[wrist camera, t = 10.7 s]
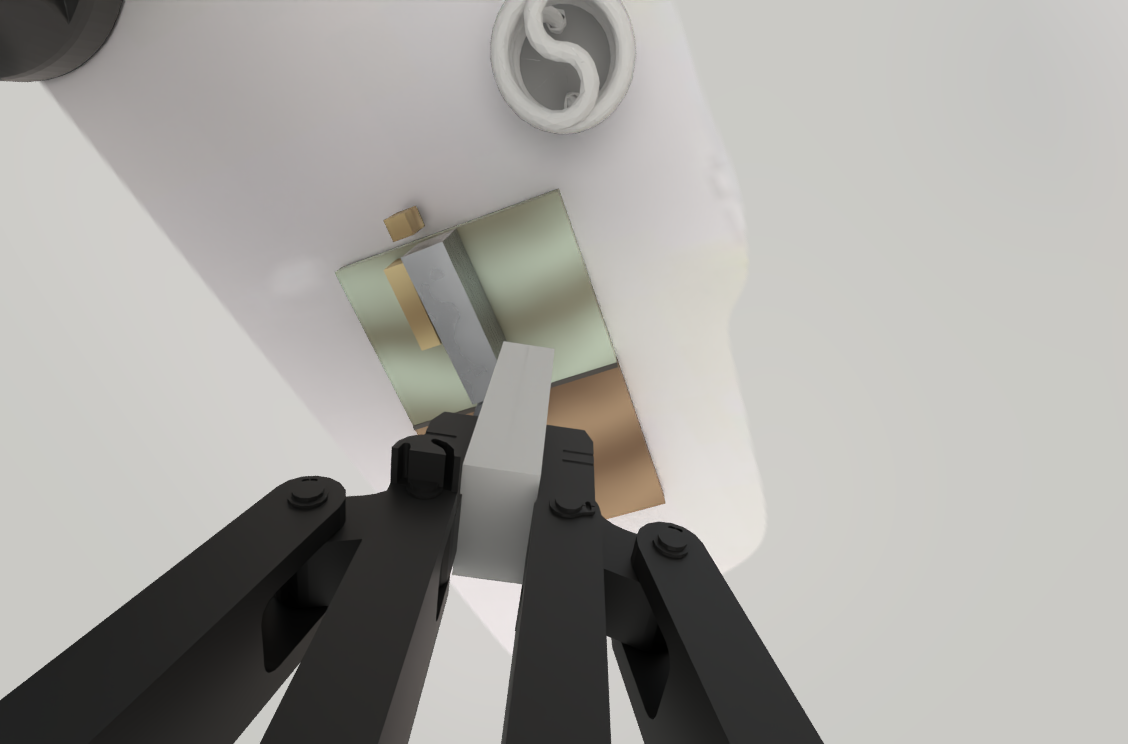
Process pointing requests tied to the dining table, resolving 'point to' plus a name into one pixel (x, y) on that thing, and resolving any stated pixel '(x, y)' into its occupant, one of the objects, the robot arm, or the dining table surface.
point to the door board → (513, 335)
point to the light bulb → (563, 61)
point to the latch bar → (457, 309)
